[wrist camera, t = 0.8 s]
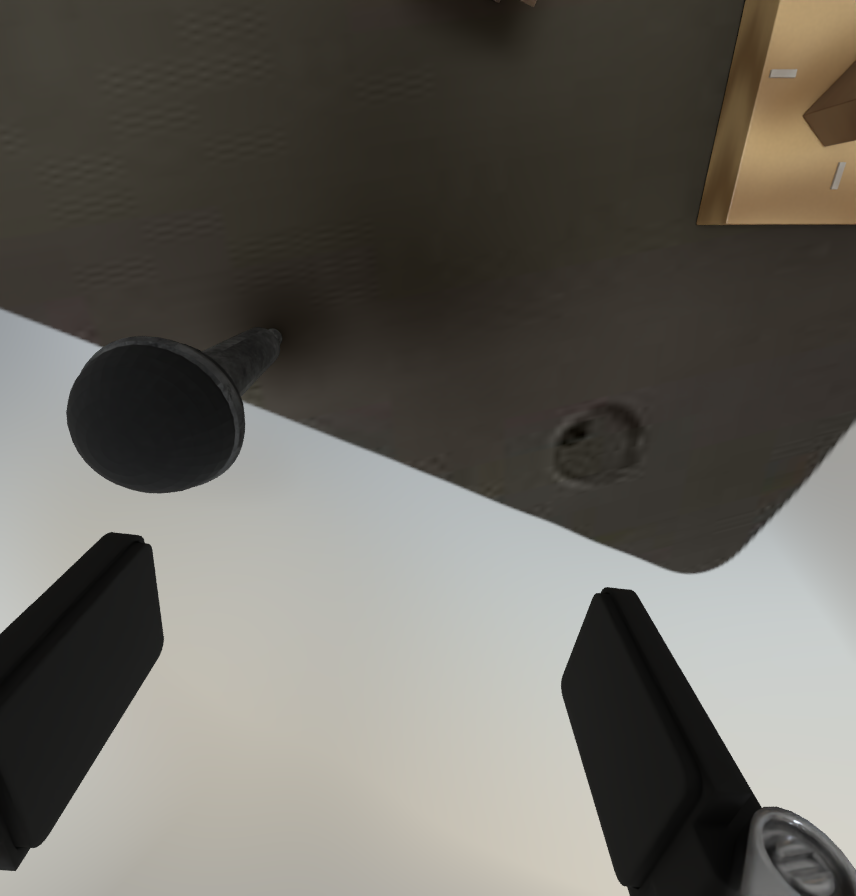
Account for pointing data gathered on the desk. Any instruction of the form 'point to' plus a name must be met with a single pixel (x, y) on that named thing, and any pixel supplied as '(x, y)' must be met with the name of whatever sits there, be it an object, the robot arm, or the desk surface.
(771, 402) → the desk surface
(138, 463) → the microphone
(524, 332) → the desk surface
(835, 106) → the arm
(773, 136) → the wooden dial board
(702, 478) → the desk surface
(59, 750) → the robot arm
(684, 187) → the desk surface
